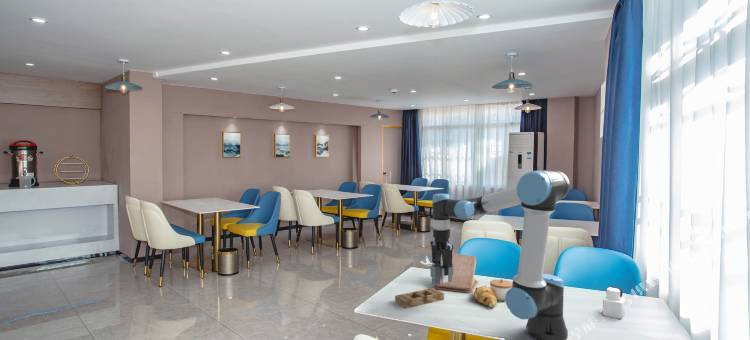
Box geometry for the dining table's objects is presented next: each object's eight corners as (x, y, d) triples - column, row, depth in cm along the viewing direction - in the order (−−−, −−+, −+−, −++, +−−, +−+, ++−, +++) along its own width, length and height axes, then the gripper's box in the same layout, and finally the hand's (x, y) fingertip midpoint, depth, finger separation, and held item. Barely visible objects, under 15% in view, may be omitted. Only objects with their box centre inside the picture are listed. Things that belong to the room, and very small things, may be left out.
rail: (432, 294, 217) (432, 287, 217) (444, 299, 209) (444, 293, 209) (395, 302, 206) (395, 295, 206) (405, 308, 198) (405, 301, 198)
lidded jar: (492, 302, 205) (493, 282, 204) (487, 294, 215) (488, 275, 215) (515, 302, 204) (516, 283, 204) (509, 295, 215) (509, 276, 215)
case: (431, 289, 225) (432, 259, 224) (441, 278, 244) (442, 249, 243) (471, 295, 217) (472, 263, 216) (478, 282, 236) (479, 253, 235)
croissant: (499, 316, 197) (508, 300, 197) (481, 306, 195) (489, 291, 195) (481, 299, 218) (489, 285, 218) (464, 290, 216) (472, 276, 216)
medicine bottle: (606, 310, 194) (607, 283, 194) (624, 314, 190) (625, 287, 189) (602, 315, 189) (603, 288, 188) (621, 319, 184) (622, 291, 184)
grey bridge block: (448, 279, 198) (448, 262, 198) (453, 281, 195) (453, 263, 195) (430, 283, 193) (430, 265, 193) (435, 285, 190) (435, 267, 190)
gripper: (460, 230, 188) (461, 284, 189) (436, 225, 202) (437, 275, 203) (446, 232, 184) (447, 287, 185) (423, 227, 199) (424, 278, 200)
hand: (442, 281), depth 194 cm, fingers closed on grey bridge block, 3 cm apart
